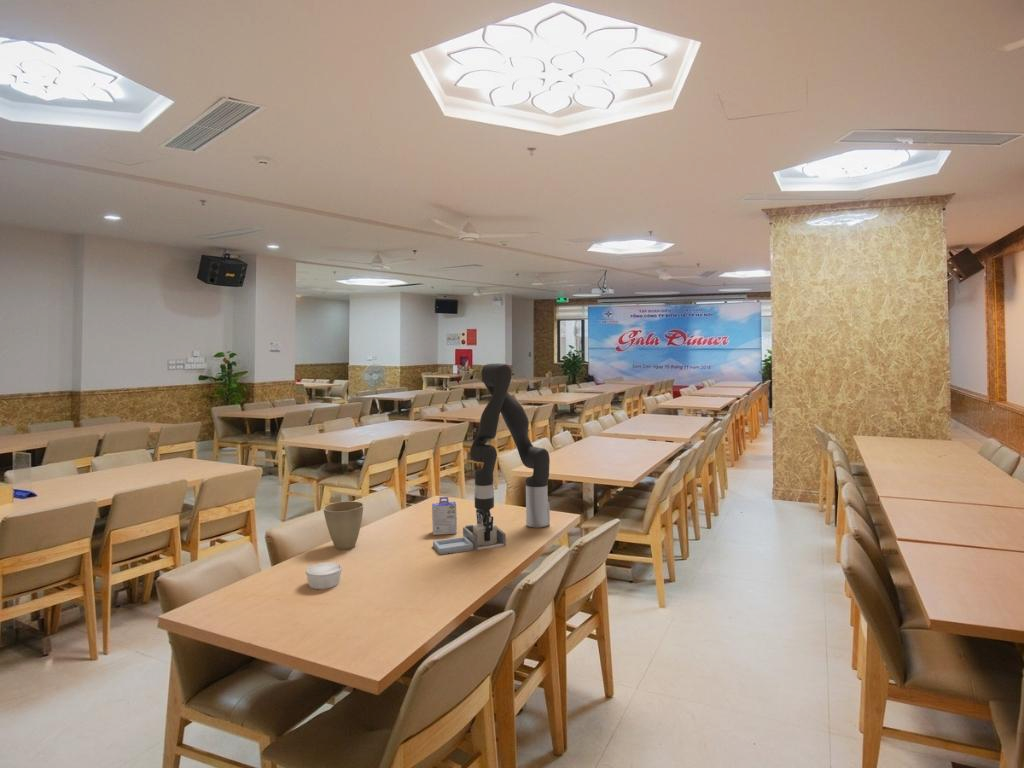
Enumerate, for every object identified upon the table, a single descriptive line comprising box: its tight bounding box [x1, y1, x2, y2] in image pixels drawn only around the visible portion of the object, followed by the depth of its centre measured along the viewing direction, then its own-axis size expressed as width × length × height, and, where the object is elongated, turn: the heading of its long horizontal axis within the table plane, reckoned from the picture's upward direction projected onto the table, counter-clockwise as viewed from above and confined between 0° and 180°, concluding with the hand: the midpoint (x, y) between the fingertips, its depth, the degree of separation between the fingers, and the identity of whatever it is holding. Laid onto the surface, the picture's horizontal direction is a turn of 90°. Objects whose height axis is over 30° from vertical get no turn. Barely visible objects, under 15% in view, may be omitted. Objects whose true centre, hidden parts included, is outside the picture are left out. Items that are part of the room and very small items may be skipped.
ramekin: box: [305, 561, 343, 590], centre depth 190 cm, size 11×11×5 cm
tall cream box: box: [472, 522, 498, 547], centre depth 229 cm, size 8×5×7 cm, turn 112°
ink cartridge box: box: [431, 496, 458, 536], centre depth 242 cm, size 10×6×14 cm, turn 98°
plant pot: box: [322, 500, 364, 551], centre depth 226 cm, size 15×15×16 cm
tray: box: [432, 536, 475, 556], centre depth 223 cm, size 13×10×2 cm
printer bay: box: [462, 524, 507, 551], centre depth 230 cm, size 13×15×5 cm
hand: (484, 538), depth 229 cm, fingers closed on tall cream box, 5 cm apart
